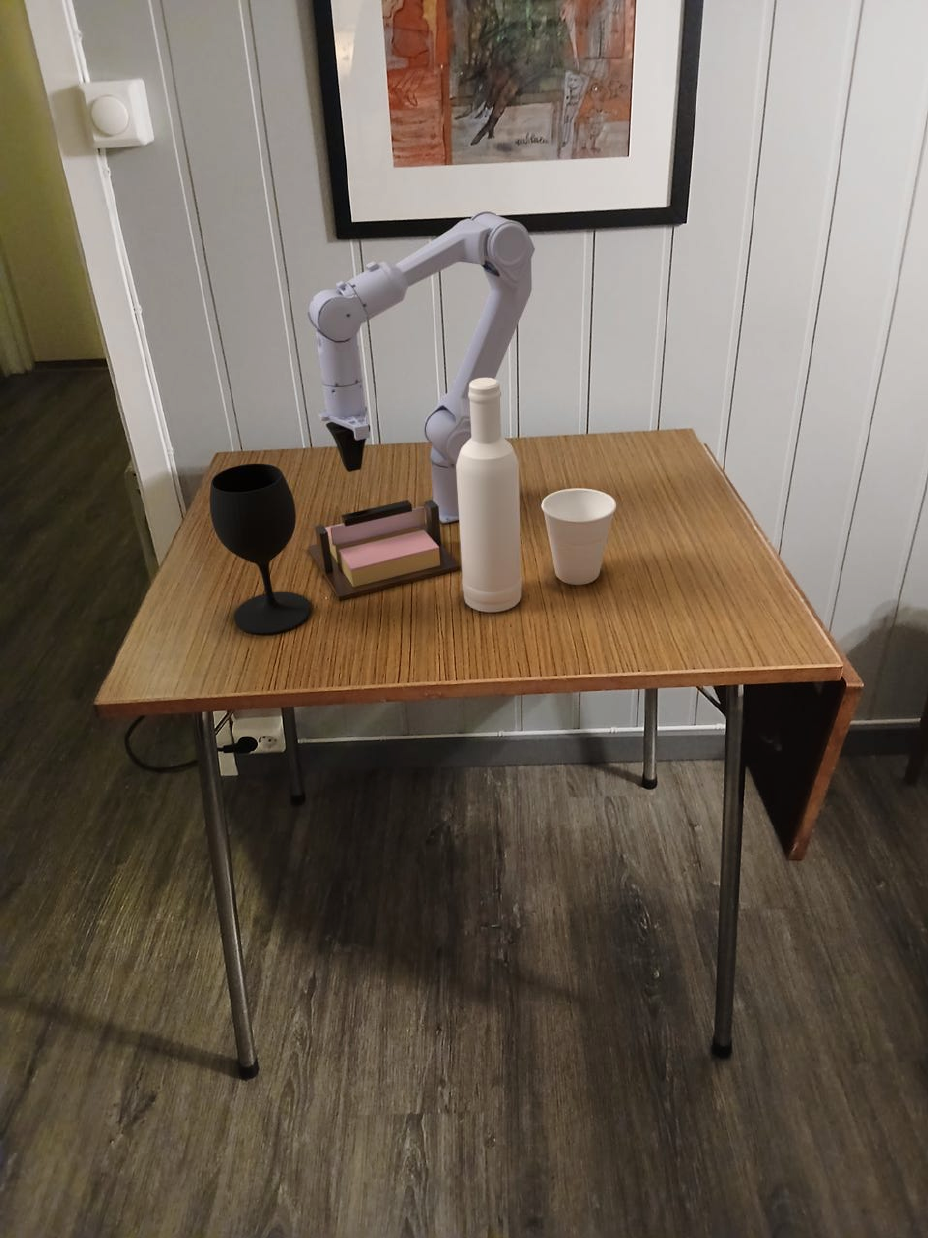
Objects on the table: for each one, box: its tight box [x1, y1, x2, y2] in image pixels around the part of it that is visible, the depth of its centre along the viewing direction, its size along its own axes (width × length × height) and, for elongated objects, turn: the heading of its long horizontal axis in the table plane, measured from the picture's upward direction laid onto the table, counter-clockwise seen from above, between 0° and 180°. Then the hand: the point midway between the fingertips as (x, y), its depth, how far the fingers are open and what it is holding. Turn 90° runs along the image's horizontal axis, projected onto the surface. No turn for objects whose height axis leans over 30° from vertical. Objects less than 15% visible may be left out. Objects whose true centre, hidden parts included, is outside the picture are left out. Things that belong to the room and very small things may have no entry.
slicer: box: [307, 499, 461, 602], centre depth 134 cm, size 18×16×7 cm
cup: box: [540, 487, 617, 586], centre depth 127 cm, size 10×10×11 cm
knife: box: [329, 499, 426, 546], centre depth 133 cm, size 14×2×4 cm, turn 113°
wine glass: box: [209, 463, 312, 636], centre depth 120 cm, size 10×10×20 cm
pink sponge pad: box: [325, 523, 440, 587], centre depth 135 cm, size 13×14×3 cm
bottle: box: [456, 378, 523, 614], centre depth 118 cm, size 8×8×30 cm
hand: (353, 468), depth 139 cm, fingers closed
